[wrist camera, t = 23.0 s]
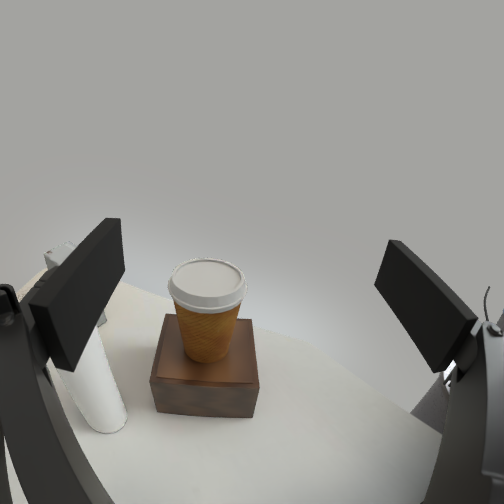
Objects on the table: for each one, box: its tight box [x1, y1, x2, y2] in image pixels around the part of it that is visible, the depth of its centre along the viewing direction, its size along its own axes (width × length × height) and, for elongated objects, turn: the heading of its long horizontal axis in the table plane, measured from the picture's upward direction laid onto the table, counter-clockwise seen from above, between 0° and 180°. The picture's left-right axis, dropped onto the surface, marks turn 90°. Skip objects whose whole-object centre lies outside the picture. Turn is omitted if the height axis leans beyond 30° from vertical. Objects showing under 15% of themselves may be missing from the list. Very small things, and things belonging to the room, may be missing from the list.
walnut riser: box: [150, 314, 260, 418], centre depth 40 cm, size 14×14×8 cm
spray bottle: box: [56, 324, 127, 433], centre depth 27 cm, size 7×7×25 cm
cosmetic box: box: [44, 241, 107, 327], centre depth 45 cm, size 8×7×16 cm
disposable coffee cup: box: [168, 258, 247, 363], centre depth 36 cm, size 10×10×12 cm
